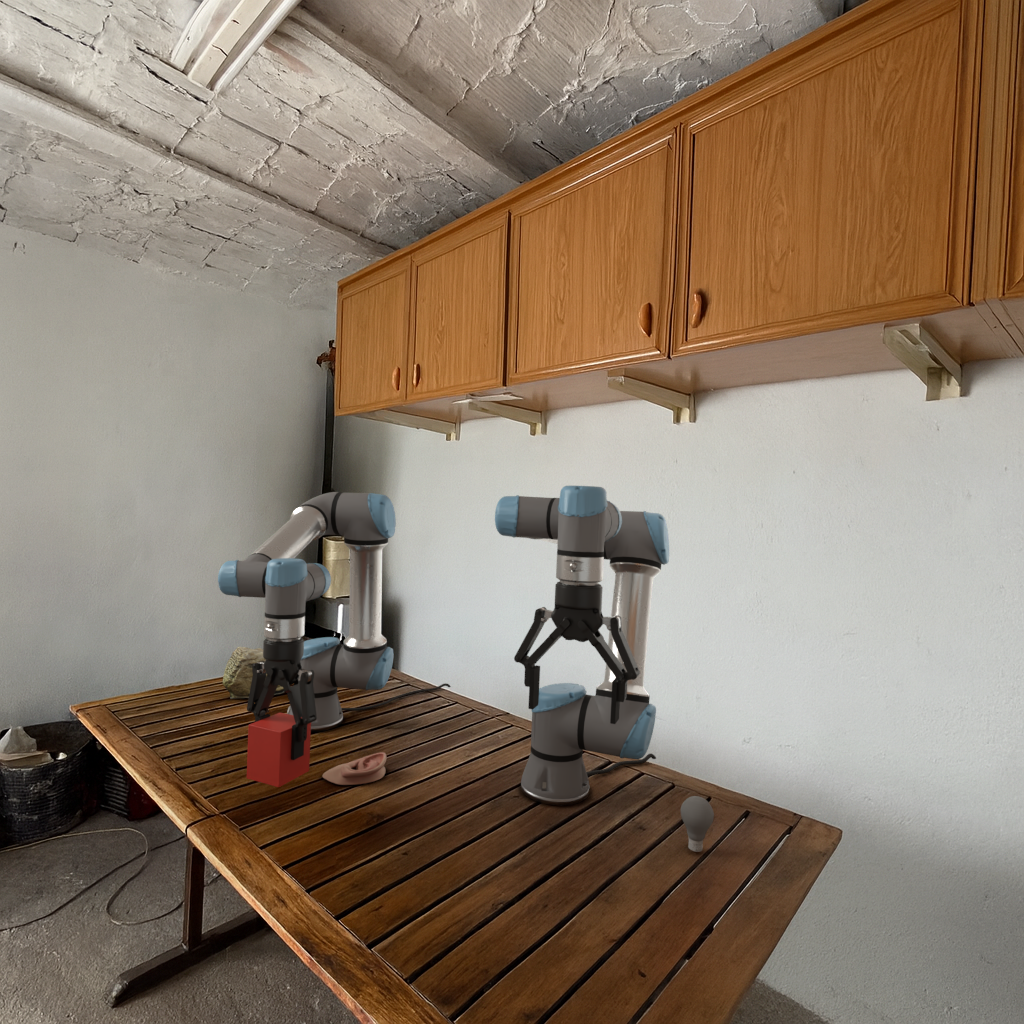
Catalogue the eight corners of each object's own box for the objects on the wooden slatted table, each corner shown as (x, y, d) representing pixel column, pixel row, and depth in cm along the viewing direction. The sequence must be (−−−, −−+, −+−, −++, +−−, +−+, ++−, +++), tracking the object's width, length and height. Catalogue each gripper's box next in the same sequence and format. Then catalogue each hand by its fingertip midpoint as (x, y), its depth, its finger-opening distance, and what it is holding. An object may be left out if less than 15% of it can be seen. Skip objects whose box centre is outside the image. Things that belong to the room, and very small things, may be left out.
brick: (246, 778, 122) (248, 724, 122) (278, 762, 130) (280, 712, 130) (278, 787, 119) (280, 732, 119) (309, 771, 127) (311, 719, 127)
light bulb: (674, 841, 122) (676, 790, 121) (704, 841, 122) (707, 790, 122) (685, 859, 116) (688, 805, 115) (717, 859, 116) (719, 805, 116)
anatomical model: (316, 763, 140) (340, 744, 151) (315, 781, 140) (339, 761, 151) (372, 771, 137) (392, 751, 149) (371, 789, 138) (391, 768, 149)
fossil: (218, 695, 195) (220, 647, 195) (278, 685, 208) (279, 640, 207) (228, 703, 189) (230, 653, 188) (289, 692, 201) (290, 645, 201)
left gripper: (229, 634, 125) (224, 748, 125) (313, 648, 117) (308, 770, 117) (258, 628, 132) (254, 736, 132) (339, 641, 124) (335, 756, 124)
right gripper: (498, 577, 103) (492, 707, 103) (653, 592, 93) (646, 735, 93) (515, 573, 110) (510, 695, 110) (661, 586, 100) (655, 720, 100)
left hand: (279, 752), depth 125 cm, fingers closed on brick, 8 cm apart
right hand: (573, 714), depth 102 cm, fingers open, 13 cm apart
